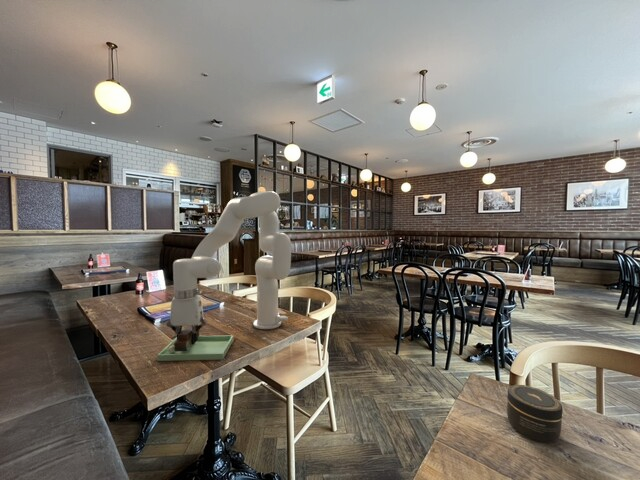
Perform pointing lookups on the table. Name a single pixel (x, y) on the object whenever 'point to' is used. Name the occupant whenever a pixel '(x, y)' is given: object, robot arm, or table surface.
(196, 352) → the tray
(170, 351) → the crumb
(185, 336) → the stepped brown post
